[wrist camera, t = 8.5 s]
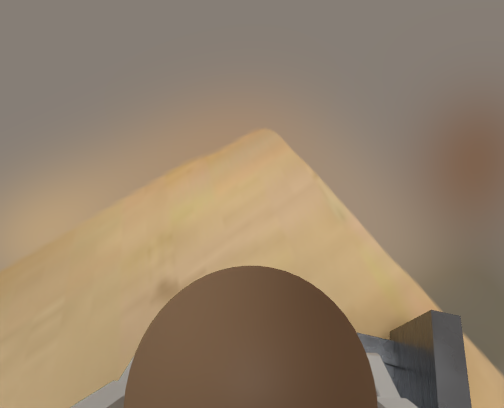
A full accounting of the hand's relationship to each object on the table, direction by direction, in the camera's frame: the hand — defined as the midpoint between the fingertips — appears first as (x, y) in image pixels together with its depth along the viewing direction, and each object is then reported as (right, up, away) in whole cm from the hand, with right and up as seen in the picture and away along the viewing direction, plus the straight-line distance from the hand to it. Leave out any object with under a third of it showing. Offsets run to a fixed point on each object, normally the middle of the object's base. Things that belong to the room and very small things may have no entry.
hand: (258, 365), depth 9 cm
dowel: (0, -4, +6) cm, 7 cm away
